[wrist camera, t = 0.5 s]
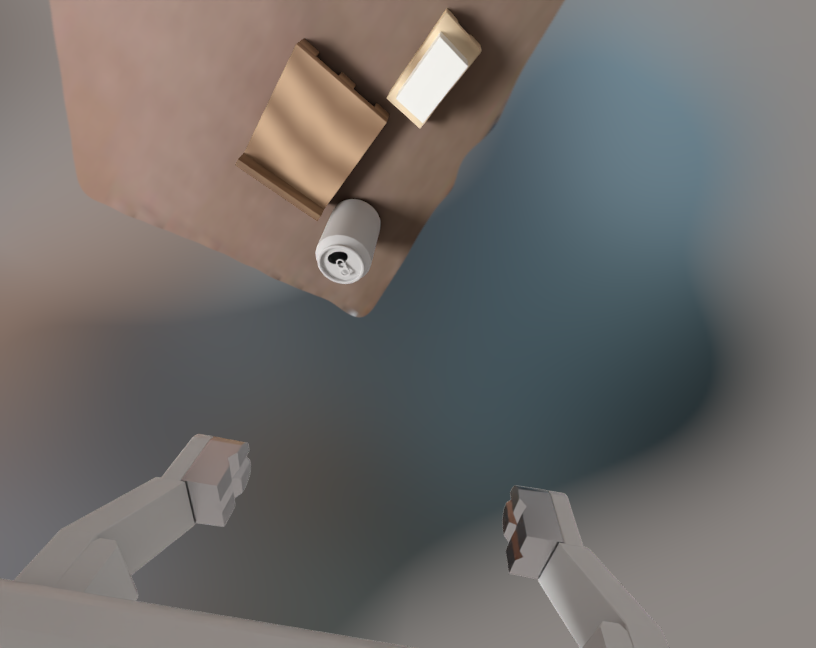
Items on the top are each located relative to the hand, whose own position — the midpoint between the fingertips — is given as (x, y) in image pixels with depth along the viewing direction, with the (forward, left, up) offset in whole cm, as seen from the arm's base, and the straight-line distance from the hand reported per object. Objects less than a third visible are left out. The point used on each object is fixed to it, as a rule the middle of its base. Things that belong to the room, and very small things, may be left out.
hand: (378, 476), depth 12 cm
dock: (+15, -8, -47) cm, 50 cm away
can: (+22, +3, -47) cm, 52 cm away
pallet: (0, -1, -47) cm, 47 cm away
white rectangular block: (0, -1, -44) cm, 44 cm away
